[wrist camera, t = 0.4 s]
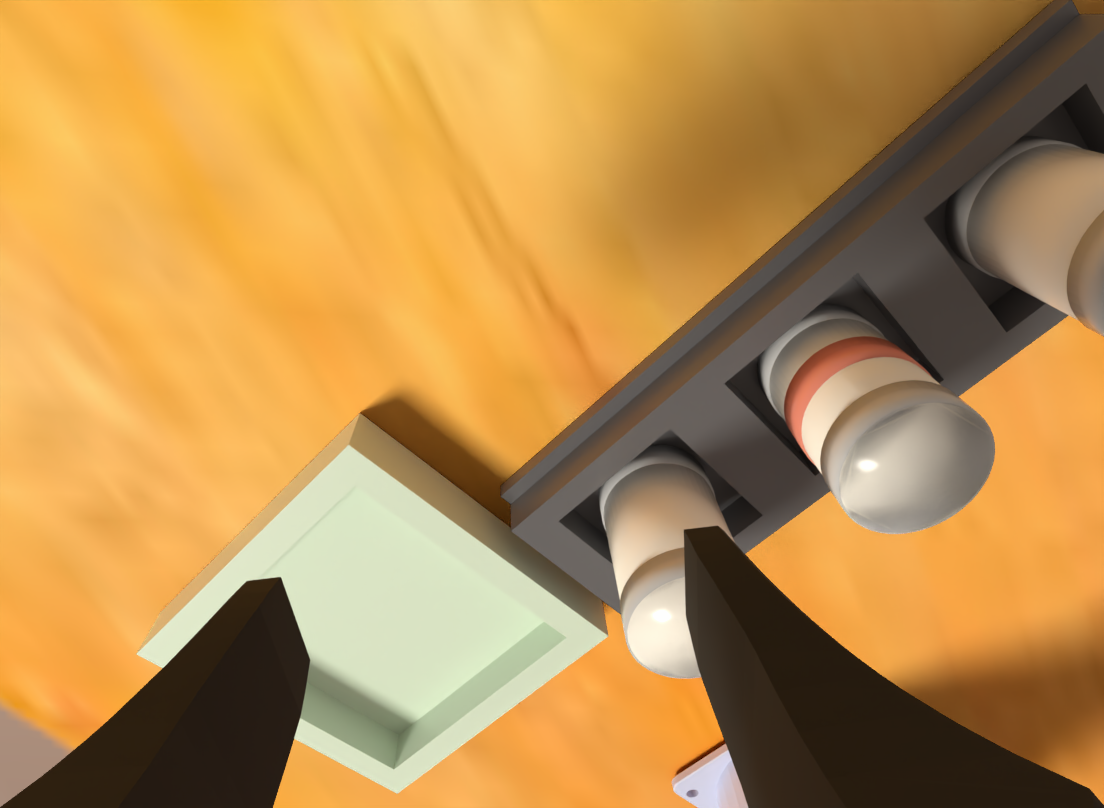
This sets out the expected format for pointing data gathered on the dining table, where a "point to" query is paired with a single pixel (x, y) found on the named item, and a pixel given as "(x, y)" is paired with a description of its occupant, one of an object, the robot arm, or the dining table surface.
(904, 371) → the fuse marked
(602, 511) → the fuse
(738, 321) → the fuse block
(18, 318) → the dining table surface
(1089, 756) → the dining table surface
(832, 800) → the robot arm
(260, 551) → the tray
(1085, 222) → the fuse
